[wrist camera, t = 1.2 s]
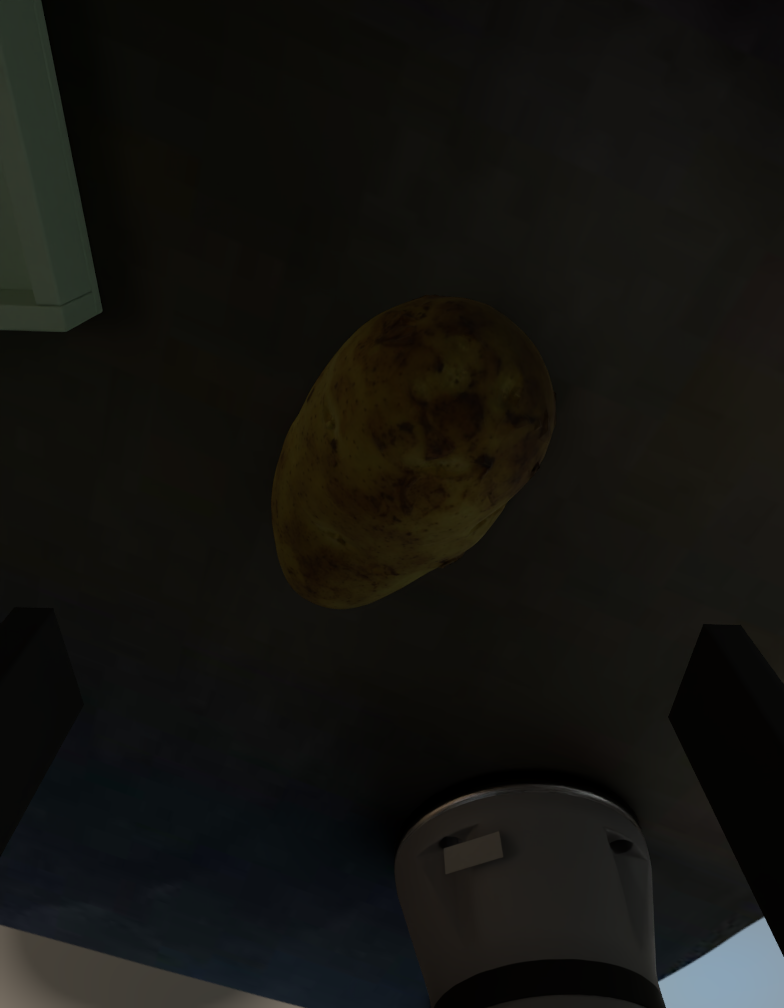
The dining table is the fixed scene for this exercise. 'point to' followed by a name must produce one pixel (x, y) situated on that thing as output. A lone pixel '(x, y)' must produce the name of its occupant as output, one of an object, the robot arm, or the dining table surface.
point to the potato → (408, 449)
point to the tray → (38, 187)
